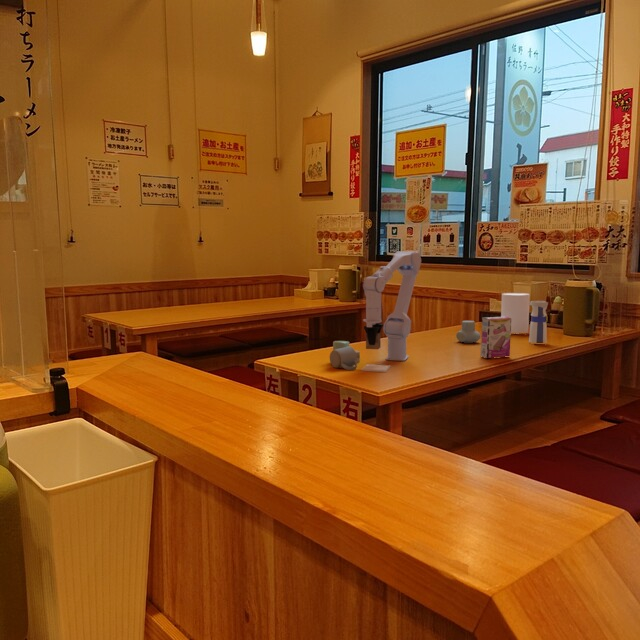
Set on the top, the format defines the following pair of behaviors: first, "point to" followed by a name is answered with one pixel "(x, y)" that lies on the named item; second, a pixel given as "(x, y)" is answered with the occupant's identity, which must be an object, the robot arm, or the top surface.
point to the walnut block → (377, 343)
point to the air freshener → (468, 332)
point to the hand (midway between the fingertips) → (373, 343)
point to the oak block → (358, 356)
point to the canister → (516, 311)
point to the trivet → (376, 368)
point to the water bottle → (538, 322)
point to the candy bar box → (495, 337)
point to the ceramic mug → (344, 358)
